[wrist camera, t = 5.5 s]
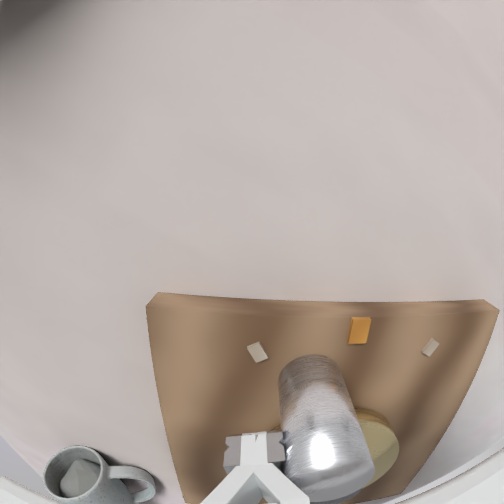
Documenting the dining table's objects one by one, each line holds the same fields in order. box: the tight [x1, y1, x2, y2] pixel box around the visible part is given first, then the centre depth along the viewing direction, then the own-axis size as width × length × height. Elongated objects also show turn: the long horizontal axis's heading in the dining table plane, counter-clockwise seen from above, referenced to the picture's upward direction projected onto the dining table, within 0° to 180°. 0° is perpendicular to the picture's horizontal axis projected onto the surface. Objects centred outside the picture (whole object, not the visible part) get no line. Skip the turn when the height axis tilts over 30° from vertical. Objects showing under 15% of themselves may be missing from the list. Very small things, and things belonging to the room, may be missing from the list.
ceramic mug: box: [43, 445, 156, 504], centre depth 18 cm, size 11×8×8 cm
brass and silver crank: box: [270, 354, 399, 504], centre depth 12 cm, size 10×16×8 cm, turn 15°
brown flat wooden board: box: [146, 292, 499, 504], centre depth 17 cm, size 22×22×2 cm
